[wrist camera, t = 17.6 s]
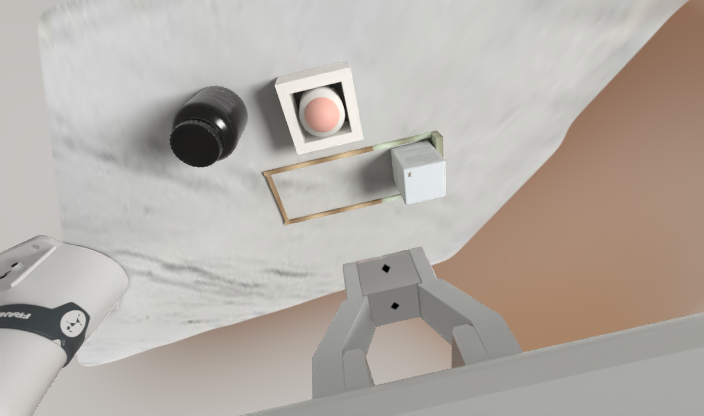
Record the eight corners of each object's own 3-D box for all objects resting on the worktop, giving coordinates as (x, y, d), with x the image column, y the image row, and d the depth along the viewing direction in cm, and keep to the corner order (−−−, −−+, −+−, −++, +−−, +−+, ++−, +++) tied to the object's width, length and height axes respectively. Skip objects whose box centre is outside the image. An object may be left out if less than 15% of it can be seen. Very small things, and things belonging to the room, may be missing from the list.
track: (285, 223, 52) (284, 232, 50) (263, 171, 46) (261, 179, 44) (438, 188, 51) (443, 195, 49) (437, 130, 45) (442, 136, 43)
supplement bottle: (242, 142, 43) (223, 185, 33) (191, 126, 41) (153, 165, 31) (254, 96, 39) (236, 128, 30) (198, 75, 37) (159, 102, 27)
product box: (393, 181, 49) (404, 206, 43) (389, 147, 46) (401, 169, 40) (429, 173, 49) (446, 197, 43) (428, 139, 46) (446, 159, 40)
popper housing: (298, 141, 44) (297, 154, 40) (277, 77, 38) (274, 85, 35) (358, 127, 43) (363, 139, 40) (346, 60, 38) (350, 67, 35)
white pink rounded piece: (306, 129, 42) (306, 147, 37) (294, 88, 39) (292, 101, 34) (345, 119, 42) (350, 136, 37) (336, 78, 39) (340, 90, 34)
